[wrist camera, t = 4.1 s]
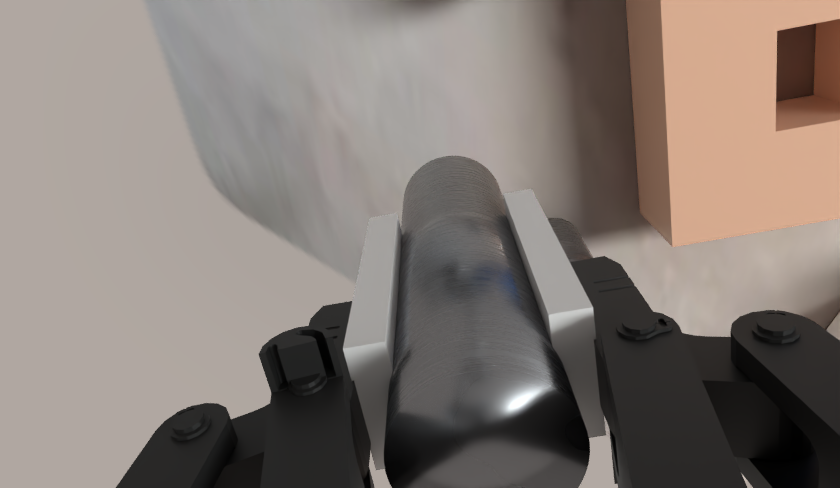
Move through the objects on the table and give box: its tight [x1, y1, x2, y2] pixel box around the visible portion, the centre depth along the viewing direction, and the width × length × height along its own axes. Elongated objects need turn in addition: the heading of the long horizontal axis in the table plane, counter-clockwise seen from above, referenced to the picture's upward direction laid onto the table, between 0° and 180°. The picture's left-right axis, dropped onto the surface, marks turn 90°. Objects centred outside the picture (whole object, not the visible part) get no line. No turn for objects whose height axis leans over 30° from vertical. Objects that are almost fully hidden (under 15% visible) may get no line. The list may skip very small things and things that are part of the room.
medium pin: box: [548, 218, 593, 262], centre depth 33 cm, size 3×3×8 cm
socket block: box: [626, 0, 840, 247], centre depth 31 cm, size 14×14×5 cm
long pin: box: [384, 156, 590, 488], centre depth 16 cm, size 3×3×12 cm
